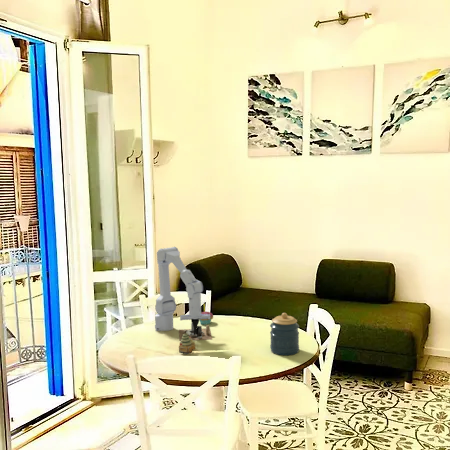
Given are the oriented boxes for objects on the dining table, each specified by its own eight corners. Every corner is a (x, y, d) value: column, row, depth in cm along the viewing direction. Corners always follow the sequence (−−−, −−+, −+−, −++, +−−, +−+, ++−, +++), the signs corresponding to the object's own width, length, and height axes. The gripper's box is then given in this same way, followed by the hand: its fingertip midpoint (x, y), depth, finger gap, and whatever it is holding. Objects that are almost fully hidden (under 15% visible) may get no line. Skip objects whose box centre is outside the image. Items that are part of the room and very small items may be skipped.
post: (191, 335, 241) (191, 324, 240) (191, 333, 243) (191, 323, 243) (196, 335, 241) (196, 324, 241) (196, 333, 244) (196, 322, 243)
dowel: (206, 335, 240) (206, 326, 240) (206, 334, 242) (206, 325, 242) (209, 335, 241) (209, 326, 240) (209, 334, 242) (209, 325, 242)
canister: (280, 344, 229) (280, 307, 227) (304, 349, 220) (304, 312, 219) (264, 351, 219) (264, 313, 217) (289, 358, 210) (289, 318, 209)
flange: (183, 333, 244) (183, 321, 244) (198, 330, 247) (198, 319, 247) (192, 339, 233) (192, 328, 233) (207, 337, 236) (207, 326, 236)
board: (179, 343, 233) (179, 341, 233) (179, 331, 250) (178, 329, 250) (212, 341, 234) (212, 339, 234) (209, 330, 252) (209, 328, 252)
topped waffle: (185, 347, 226) (184, 327, 225) (197, 349, 224) (196, 328, 223) (177, 353, 218) (176, 332, 218) (189, 355, 216) (189, 333, 215)
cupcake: (195, 323, 264) (195, 302, 263) (209, 321, 267) (209, 300, 266) (201, 327, 256) (200, 305, 255) (216, 325, 260) (215, 303, 259)
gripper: (180, 309, 229) (180, 337, 230) (210, 308, 231) (210, 335, 232) (179, 305, 236) (180, 332, 237) (209, 304, 238) (209, 331, 239)
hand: (195, 333), depth 235 cm, fingers closed, pressing on flange
